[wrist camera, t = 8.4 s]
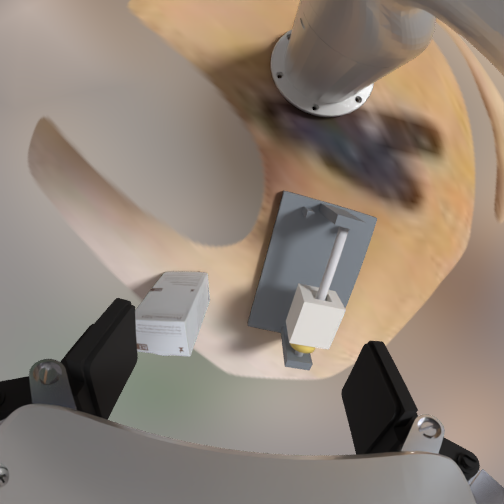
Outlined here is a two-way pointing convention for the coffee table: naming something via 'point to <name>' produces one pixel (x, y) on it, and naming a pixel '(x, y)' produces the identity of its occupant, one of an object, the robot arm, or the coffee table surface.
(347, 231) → the slide rail
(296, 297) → the sleeve
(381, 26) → the robot arm
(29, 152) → the coffee table surface
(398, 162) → the coffee table surface
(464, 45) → the coffee table surface
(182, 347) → the skincare box
